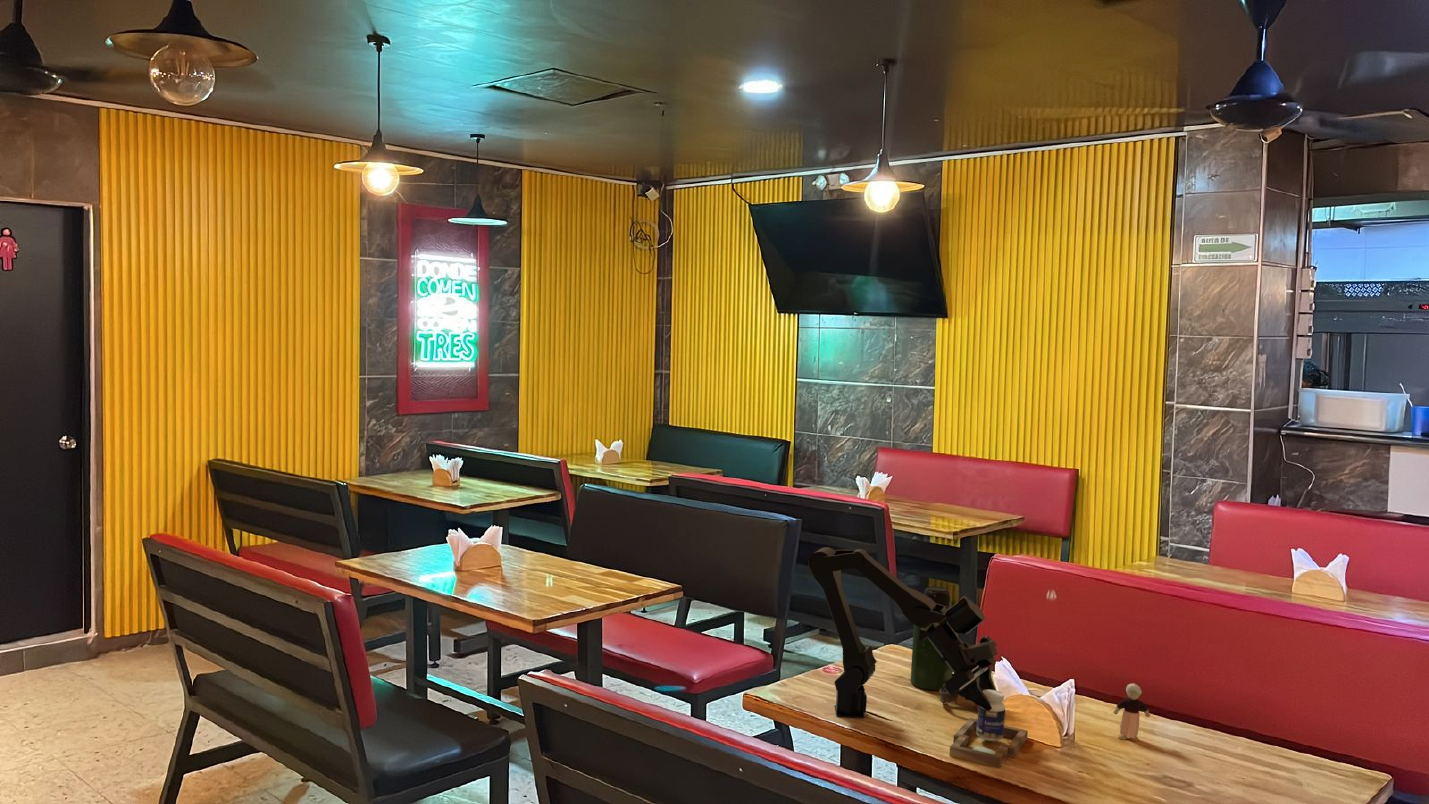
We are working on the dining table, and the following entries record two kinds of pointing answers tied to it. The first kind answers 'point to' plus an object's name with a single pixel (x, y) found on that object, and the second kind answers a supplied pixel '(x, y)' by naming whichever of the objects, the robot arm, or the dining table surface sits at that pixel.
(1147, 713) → the grandmother figurine
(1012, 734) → the keyhole frame
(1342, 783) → the dining table surface
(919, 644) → the dark green bottle
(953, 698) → the dark brown banded ring
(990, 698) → the pill bottle
